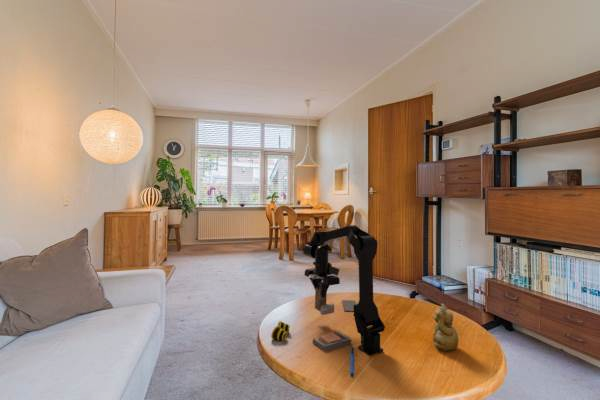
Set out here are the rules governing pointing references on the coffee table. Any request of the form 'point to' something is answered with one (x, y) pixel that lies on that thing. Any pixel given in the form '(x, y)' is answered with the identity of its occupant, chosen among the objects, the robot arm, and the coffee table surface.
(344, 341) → the tile bay
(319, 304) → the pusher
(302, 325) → the coffee table surface
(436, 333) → the decorative figurine
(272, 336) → the opera glasses
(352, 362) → the pen
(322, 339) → the tile
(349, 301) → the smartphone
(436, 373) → the coffee table surface
